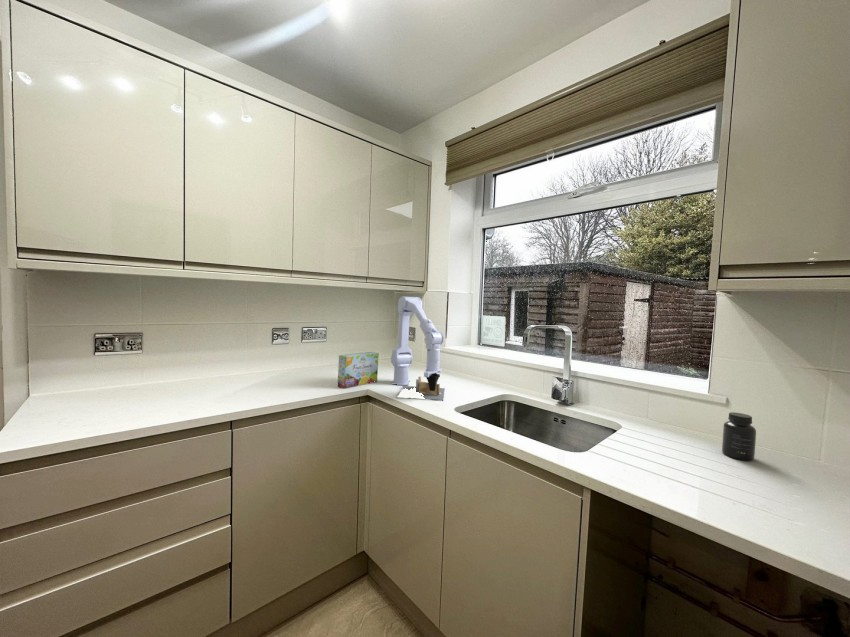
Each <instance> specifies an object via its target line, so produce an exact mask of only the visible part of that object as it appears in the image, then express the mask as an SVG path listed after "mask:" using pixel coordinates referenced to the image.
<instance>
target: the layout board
mask: <svg viewBox="0 0 850 637" xmlns="http://www.w3.org/2000/svg"><path fill="white" fill-rule="evenodd" d="M420 381H421V382H422V377H421V376H418V379H417V378H416V379H415V386H410V385H402V387H403V389H405V388H406V389H408V390H410V389H411V388H412V389H413V388H414V387H415V388H416V392H419V382H420ZM419 393H422V394H423V395H424V396H423V397H424V398H425V399H432V400H431V401H438V400H442V402H443V401H444V397H445V387H443V388H442V387H440V390H439V395H436V394H429V393H423V392H419ZM421 396H422V395H421Z"/></svg>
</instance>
